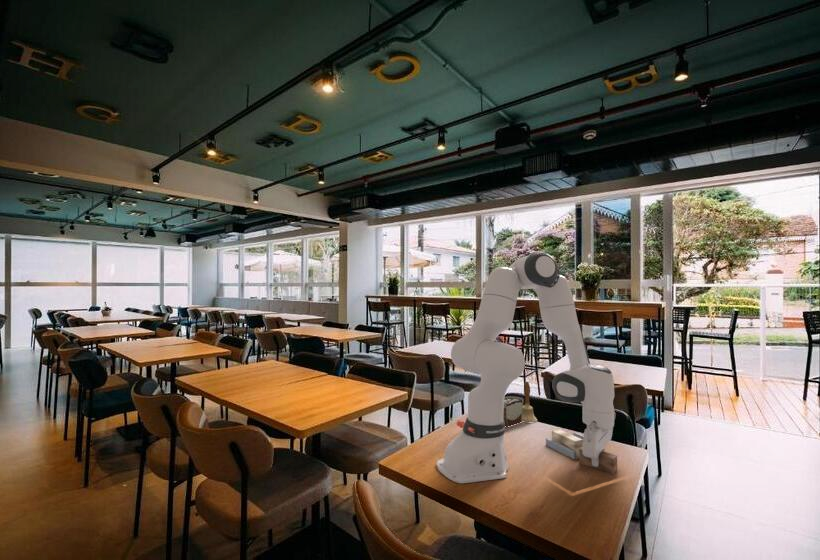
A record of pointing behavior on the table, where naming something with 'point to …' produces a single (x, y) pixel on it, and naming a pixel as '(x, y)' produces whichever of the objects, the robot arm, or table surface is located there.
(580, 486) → the table surface
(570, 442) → the maple bar
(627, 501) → the table surface
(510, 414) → the food container
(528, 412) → the hand bell
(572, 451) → the slot rack
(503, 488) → the table surface
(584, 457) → the walnut bar
